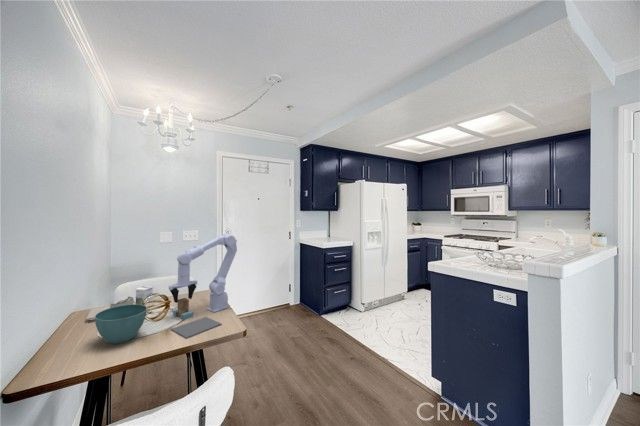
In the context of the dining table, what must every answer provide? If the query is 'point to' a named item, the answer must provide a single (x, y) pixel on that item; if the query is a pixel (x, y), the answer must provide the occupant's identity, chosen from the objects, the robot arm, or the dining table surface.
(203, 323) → the rubber mat
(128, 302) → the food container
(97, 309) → the washcloth
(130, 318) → the teal bowl
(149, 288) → the syrup box
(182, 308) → the walnut block
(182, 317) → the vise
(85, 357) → the dining table surface
